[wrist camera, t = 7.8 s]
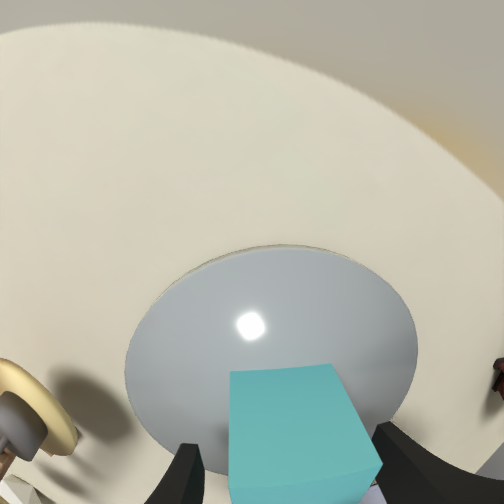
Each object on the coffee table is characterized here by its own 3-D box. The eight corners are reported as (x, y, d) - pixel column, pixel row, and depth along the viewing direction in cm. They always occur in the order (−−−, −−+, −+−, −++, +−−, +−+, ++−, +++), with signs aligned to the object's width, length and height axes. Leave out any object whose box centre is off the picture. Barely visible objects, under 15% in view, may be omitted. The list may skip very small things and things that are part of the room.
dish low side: (427, 241, 12) (441, 246, 11) (374, 446, 15) (379, 457, 14) (107, 249, 11) (95, 256, 10) (163, 462, 14) (161, 475, 13)
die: (21, 485, 18) (38, 533, 12) (-19, 470, 13) (-5, 524, 6) (43, 475, 21) (63, 528, 14) (-1, 460, 15) (15, 520, 8)
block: (330, 363, 11) (383, 464, 6) (319, 426, 12) (350, 515, 7) (229, 371, 11) (228, 488, 5) (235, 434, 12) (238, 530, 6)
